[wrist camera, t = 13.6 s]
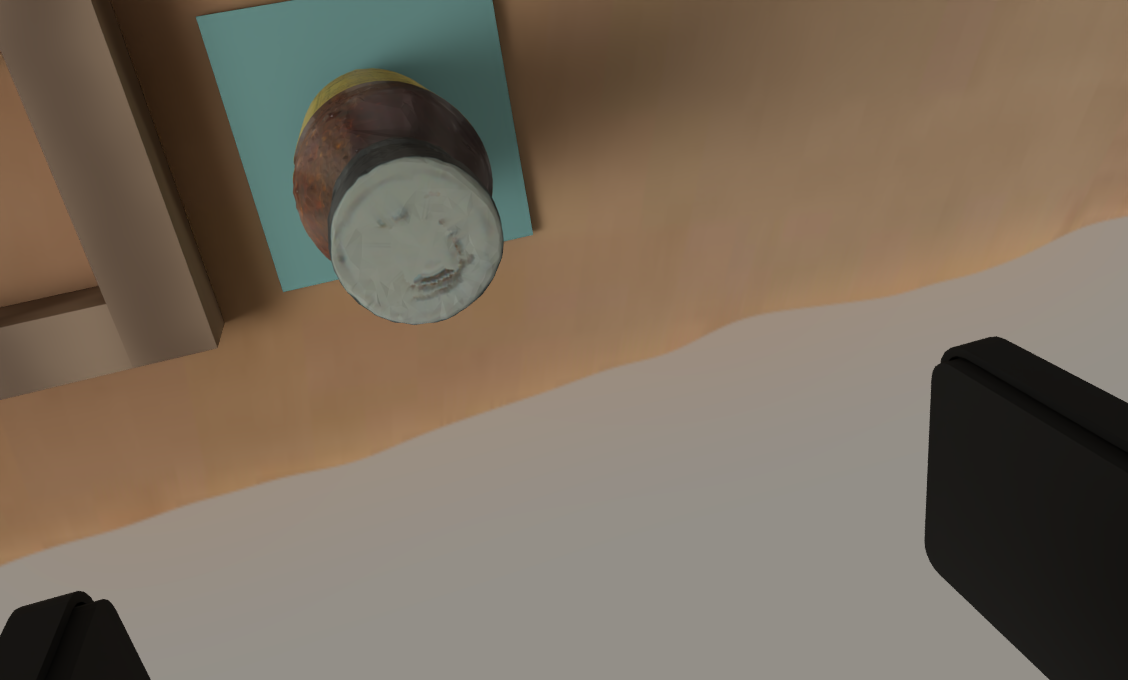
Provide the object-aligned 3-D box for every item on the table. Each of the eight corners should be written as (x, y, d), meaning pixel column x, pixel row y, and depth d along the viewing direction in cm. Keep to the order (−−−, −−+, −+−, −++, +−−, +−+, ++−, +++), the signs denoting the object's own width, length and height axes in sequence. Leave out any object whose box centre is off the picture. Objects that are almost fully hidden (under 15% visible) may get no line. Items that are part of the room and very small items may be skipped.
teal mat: (484, -33, 36) (486, -33, 36) (530, 231, 41) (532, 234, 41) (197, 16, 34) (195, 16, 33) (283, 288, 39) (283, 292, 39)
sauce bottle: (435, 215, 39) (525, 403, 21) (295, 197, 37) (266, 386, 19) (455, 71, 37) (576, 145, 19) (308, 43, 35) (288, 98, 17)
